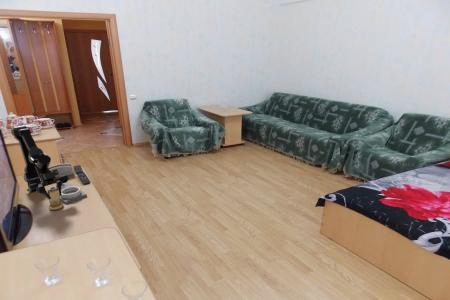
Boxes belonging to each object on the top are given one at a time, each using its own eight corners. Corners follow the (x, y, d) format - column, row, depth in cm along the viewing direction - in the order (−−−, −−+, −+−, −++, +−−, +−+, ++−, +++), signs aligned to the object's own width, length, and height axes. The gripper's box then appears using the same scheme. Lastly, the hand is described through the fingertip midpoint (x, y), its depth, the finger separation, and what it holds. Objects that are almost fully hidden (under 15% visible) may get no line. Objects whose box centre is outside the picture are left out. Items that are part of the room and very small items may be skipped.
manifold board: (47, 191, 171) (46, 185, 169) (68, 185, 180) (66, 178, 179) (66, 204, 158) (64, 196, 157) (86, 196, 167) (85, 189, 166)
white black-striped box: (72, 171, 200) (71, 160, 195) (74, 175, 198) (73, 164, 192) (45, 176, 191) (43, 165, 185) (46, 181, 188) (44, 169, 182)
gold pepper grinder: (46, 210, 151) (42, 191, 147) (53, 203, 158) (50, 185, 154) (58, 210, 151) (55, 191, 147) (65, 204, 158) (62, 185, 154)
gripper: (25, 170, 142) (37, 197, 139) (64, 161, 156) (76, 185, 153) (23, 180, 150) (34, 205, 147) (61, 170, 163) (72, 193, 160)
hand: (55, 197), depth 151 cm, fingers closed on gold pepper grinder, 5 cm apart
